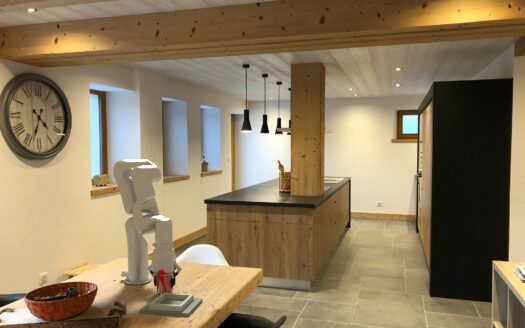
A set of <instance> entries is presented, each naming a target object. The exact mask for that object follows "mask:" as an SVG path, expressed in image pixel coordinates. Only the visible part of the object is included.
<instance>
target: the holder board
mask: <svg viewBox="0 0 525 328" xmlns="http://www.w3.org/2000/svg"><path fill="white" fill-rule="evenodd" d="M202 302H203V298H196V297H195V295H194V294H191V293H175V292H171V293H163V294H161V295H160V294H159V295H157V296H156V297H154V298H153V299H152V300H151V301H149V302H148V303H146V305H144V306H143V307H142V308H140V309H139V314H148V315H163V316H175V317H177V316H178V317H190V315H191V314H192V313H193V312H194V311H195V310H196V309H197V308H198V307H199V306H200V305H201V303H202Z"/></svg>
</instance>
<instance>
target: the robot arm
mask: <svg viewBox="0 0 525 328" xmlns="http://www.w3.org/2000/svg"><path fill="white" fill-rule="evenodd" d="M112 174H113V178H114V182H115V183H116V185H117V187H118V189H119V192H120V197H121V201H122V205H123V206H122V207H123V210H124V212H125V213H126V214H127V215H129V216H131V215H132V216H131V217H129V218H127V219H126V221H125V223H124V230H125V234H126V235H125V236H126V239H127V241H126V242H127V271H124V270H123V271H121V273H120V276H121V277H125V278H124V283H125V284H127V285H131V286H132V285H133V286H137V285H143V284H147V283H150V282H152V279H153V285H154V287H156V288H157V282H156V273H157V272H158V271H159V270H164V271H165V272H166V273H170V275H171V279H170V284H171V287H173V288H174V287H175V285H176V277H177V276H178V275H179V274H180V273H181V271H182V270H183V268H182V267H181V266H180V265H179V264H178V263H177V257H176V252H175V248H173V247H174V246H173V245H174V243H173V241H174V239H173V220H172V218H170V217H166V216H165V215H161V214H160V211H159V206H158V203H157V200H156V190H155V188H154V186H153V183H154V184H155V183H158V182H160V181H161V180H162V171H161V170H160V168H159V166H158V165H156V164H155V163H153V162H151V161H150V160H149V159H145V158H143V159H141V158H140V159H137V158H134V159H120V160H118V161H116V162H115V163H114V164H113V167H112ZM151 234H154V238H155V239H154V243H152V247H154V249H153V251H152V254H151V255H152V256H151V264H150V265H149V243H148V241H147V240H146V239H145V237H144V236H146V235H151ZM161 268H162V269H161ZM149 274H150V275H149Z"/></svg>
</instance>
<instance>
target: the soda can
mask: <svg viewBox="0 0 525 328" xmlns="http://www.w3.org/2000/svg"><path fill="white" fill-rule="evenodd" d="M161 269H162V268H161ZM170 279H171V275H170V273H166V272H165V271H164V270H159V271H158V272H157V273H156V282H157V286H156V293H157V294H159V296H160V295H161V294H163V293H173V291H174V287H171V284H170Z"/></svg>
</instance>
